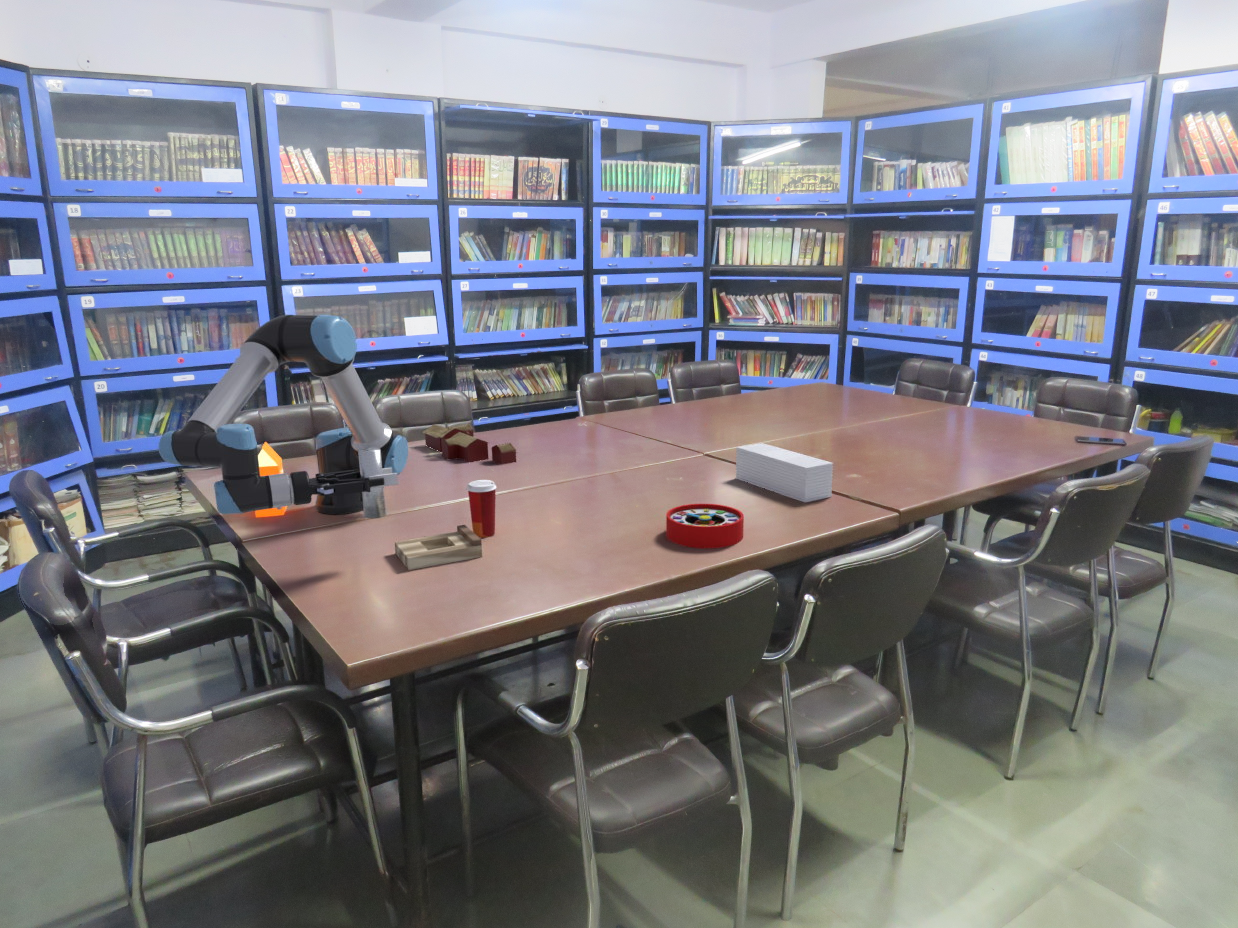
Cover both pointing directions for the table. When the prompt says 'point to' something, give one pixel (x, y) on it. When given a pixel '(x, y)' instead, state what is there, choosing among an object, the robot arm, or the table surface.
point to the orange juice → (269, 466)
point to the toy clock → (704, 525)
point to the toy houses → (466, 445)
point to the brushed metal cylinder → (375, 498)
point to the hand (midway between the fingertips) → (394, 475)
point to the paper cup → (482, 507)
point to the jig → (439, 548)
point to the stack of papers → (784, 472)
